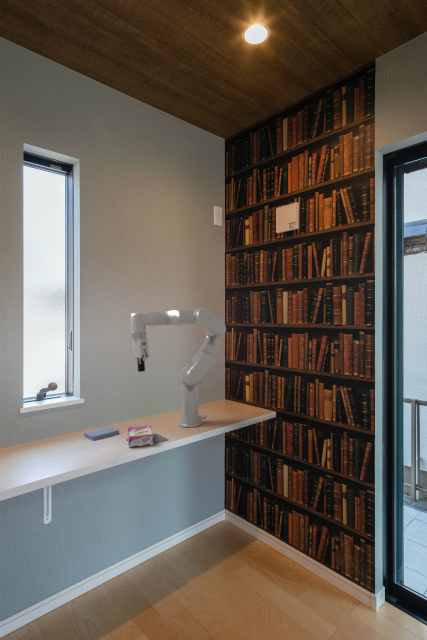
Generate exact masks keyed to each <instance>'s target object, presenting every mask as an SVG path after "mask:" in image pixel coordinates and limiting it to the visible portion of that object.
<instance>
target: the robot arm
mask: <svg viewBox="0 0 427 640" xmlns="http://www.w3.org/2000/svg"><path fill="white" fill-rule="evenodd" d="M198 324H199V325H202V326H203V327H204V332H205V341H204V342H203V344H202V345H201V347H199V349H198V350H197V351H196V353H195V354H194V355H193V357H192V364H193V365H192V366H190V365H188V366H184V367H182V368H181V369H180V371H179V375H178V378H179V379H178V381H179V385H180V409H181V411H180V412H181V421H179V422H178V426H179V427H181V428H195V427H199V426H202V424H203V421H202V420H206V419H207V418H208V417H207V414H204V415H203V414H200V412H199V407H200V406H199V387H198V386H199V385H200V384H202V383H203V382H204V380H205V379H206V378H207V376H208V375H209V374H210V372H211V371H212V370H213V368H214V367H215V363H216V359H215V355H216V353H217V351H218V350H219V347H220V345H221V337H223V336H224V335H225V334H226V331H227V327H226V325H225V323H224V322H223V321H222V320H220V318H218V316H216V315H215V314H214V313H213V312H211V310H209V309H208V308H205V307H200V308H183V309H182V308H181V309H179V308H178V309H172V310H166V311H155V310H153V311H152V310H151V311H147V312H140V311H139V312H132V313H131V314H130V327H131V328H130V329H131V340H132V354H133V355H132V356H133V357H134V359H135V361H136V363H137V372H140V373H141V372H145V371H146V365H145V364H146V361H147V358H149V357H150V351H149V349H150V348H149V344H148V339H147V326H150V327H153V326H155V327H156V326H166V325H167V326H181V325H182V326H183V325H198Z"/></svg>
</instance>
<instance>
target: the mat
mask: <svg viewBox="0 0 427 640" xmlns="http://www.w3.org/2000/svg"><path fill="white" fill-rule="evenodd" d="M125 441H127V442H128V438H127V439H125ZM166 441H169V439H168V438H166V437H165V436H162V435H161V434H159V433H157V432H156V433H153V445H154V444H157V443H161V442H166ZM140 447H142V446H136V448H140Z"/></svg>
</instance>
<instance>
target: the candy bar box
mask: <svg viewBox="0 0 427 640" xmlns="http://www.w3.org/2000/svg"><path fill="white" fill-rule="evenodd" d="M153 434H154V433H153V430H152V427H151V425H141V426H132V427H130V426H129V427H127V439H128V441H127V442H128V447H129V448H133V447H136V446H141V447H144V446H153V445H154V444H153ZM136 448H137V447H136Z"/></svg>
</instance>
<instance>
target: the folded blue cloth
mask: <svg viewBox="0 0 427 640" xmlns="http://www.w3.org/2000/svg"><path fill="white" fill-rule="evenodd" d="M117 435H120V430H119V429H116V428H113V427H112V426H111V427H110V426H107V427H103V428H98V429H95V430H89V431H87V432H83V437H84V438H86V439H88V440H90V441H98V440H101V439H102V440H103V439H106V438H110V437H114V436H117Z"/></svg>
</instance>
